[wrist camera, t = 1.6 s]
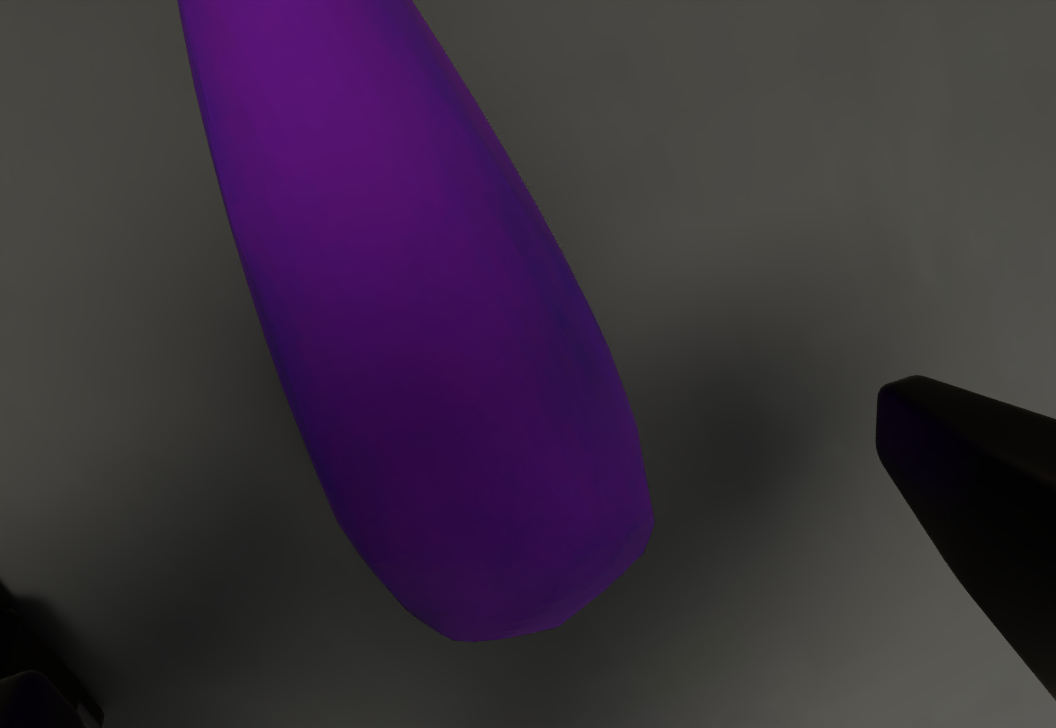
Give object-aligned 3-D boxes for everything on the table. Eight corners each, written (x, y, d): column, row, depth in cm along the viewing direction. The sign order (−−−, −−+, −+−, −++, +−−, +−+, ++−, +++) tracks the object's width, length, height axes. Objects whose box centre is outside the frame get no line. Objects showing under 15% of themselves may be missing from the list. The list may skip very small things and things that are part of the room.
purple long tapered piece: (381, -414, 8) (723, 663, 15) (363, -287, 12) (635, 501, 19) (-128, -225, 7) (470, 769, 15) (40, -164, 12) (438, 582, 19)
